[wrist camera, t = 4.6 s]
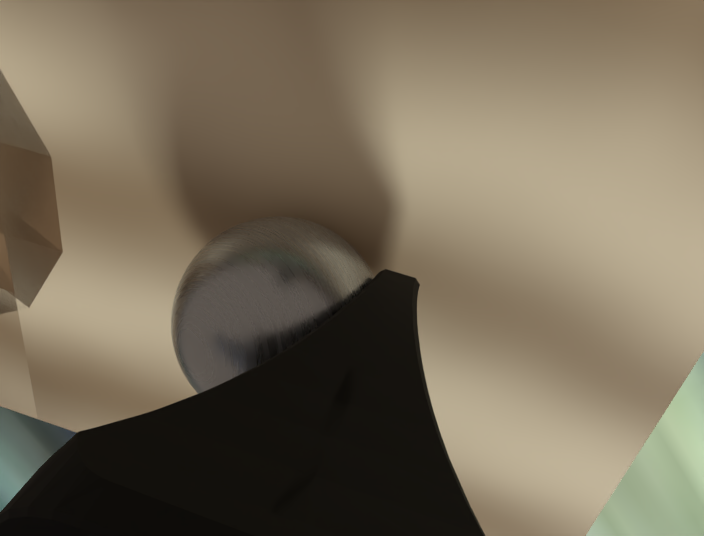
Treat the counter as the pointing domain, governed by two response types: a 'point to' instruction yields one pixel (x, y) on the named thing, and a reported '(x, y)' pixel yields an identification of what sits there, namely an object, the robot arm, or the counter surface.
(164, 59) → the deck
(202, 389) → the ball
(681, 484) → the counter surface
